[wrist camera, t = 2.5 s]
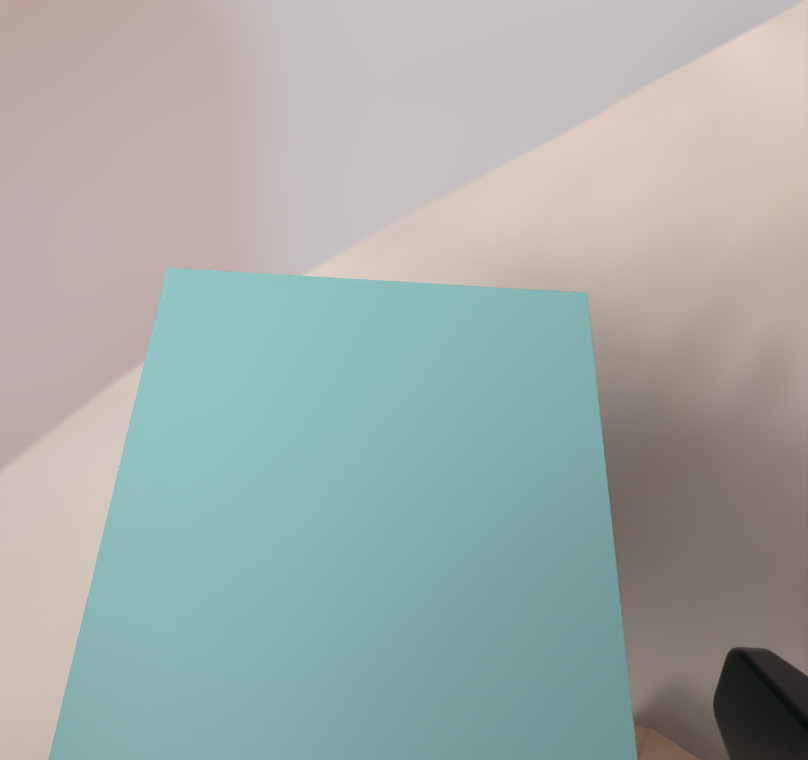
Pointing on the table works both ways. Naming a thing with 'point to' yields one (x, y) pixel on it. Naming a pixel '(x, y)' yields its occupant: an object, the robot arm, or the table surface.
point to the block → (356, 533)
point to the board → (657, 746)
